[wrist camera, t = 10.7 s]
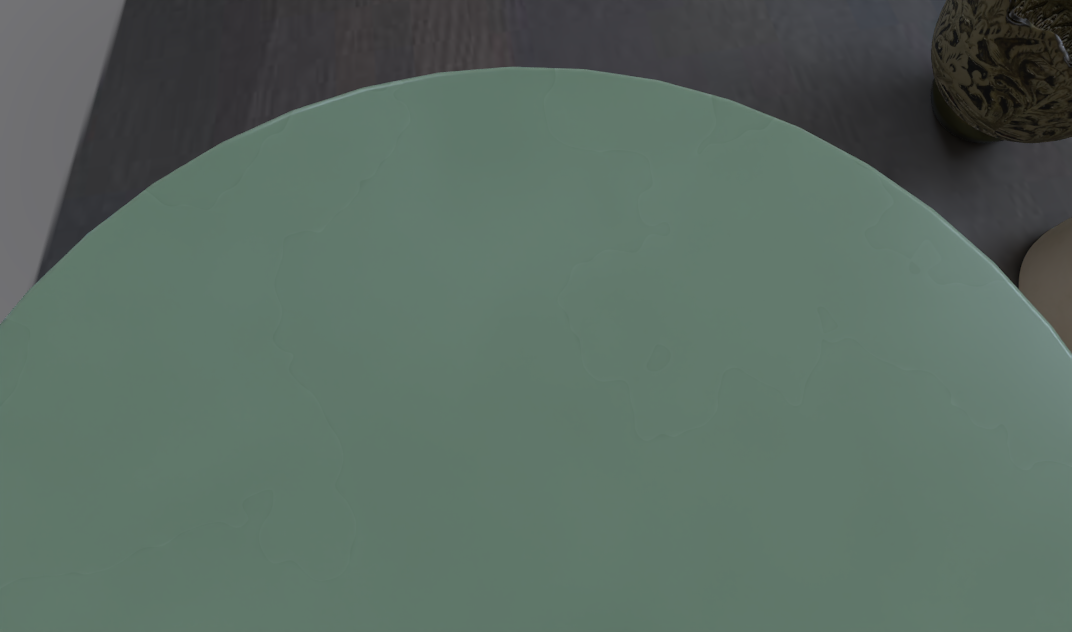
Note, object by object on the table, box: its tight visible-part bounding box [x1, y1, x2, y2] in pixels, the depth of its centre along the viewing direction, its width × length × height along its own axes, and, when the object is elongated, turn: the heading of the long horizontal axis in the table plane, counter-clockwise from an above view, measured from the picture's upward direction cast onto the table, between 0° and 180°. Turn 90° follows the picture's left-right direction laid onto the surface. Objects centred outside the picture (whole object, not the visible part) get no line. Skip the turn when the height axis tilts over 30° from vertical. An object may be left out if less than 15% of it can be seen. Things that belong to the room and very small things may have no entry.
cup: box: [931, 0, 1072, 143], centre depth 25 cm, size 8×7×8 cm
